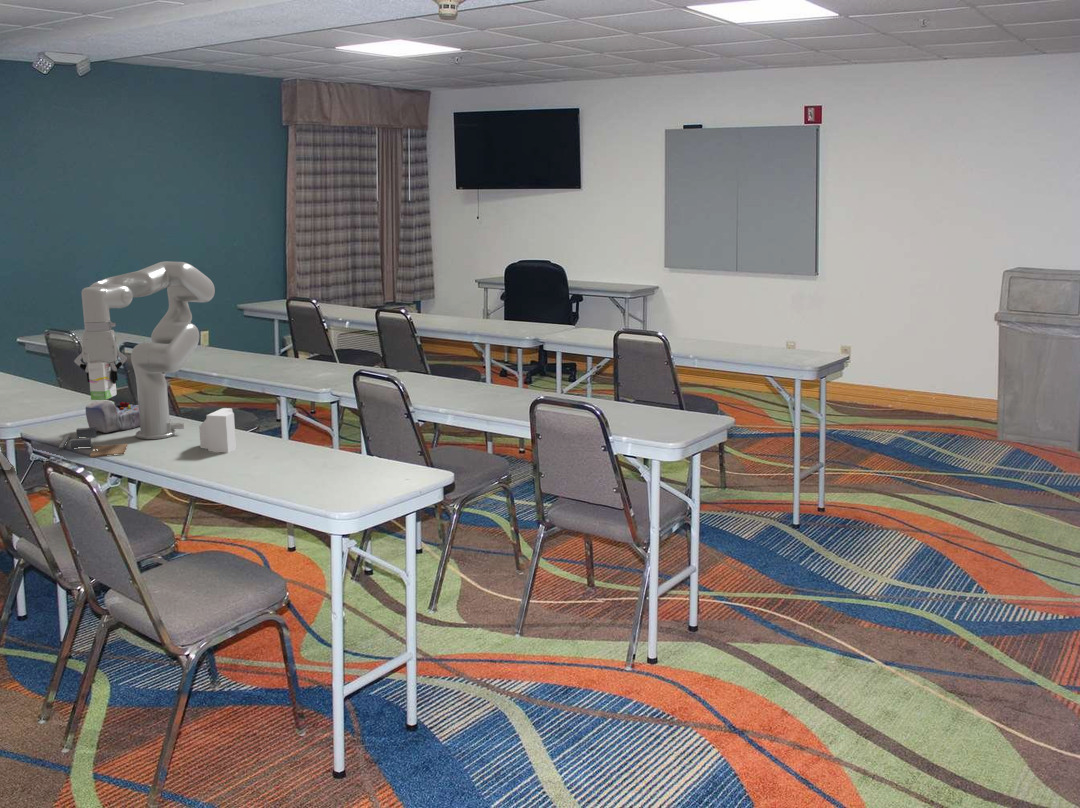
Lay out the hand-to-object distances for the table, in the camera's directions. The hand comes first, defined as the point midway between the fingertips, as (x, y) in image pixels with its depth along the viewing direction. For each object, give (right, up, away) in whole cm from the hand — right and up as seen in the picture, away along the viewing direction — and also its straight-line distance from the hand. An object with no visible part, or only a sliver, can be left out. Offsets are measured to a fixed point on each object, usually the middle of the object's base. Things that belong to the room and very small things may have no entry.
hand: (102, 383), depth 331 cm
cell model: (-9, -15, +35) cm, 39 cm away
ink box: (0, -5, +1) cm, 5 cm away
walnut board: (0, -22, +5) cm, 22 cm away
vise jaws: (-14, -19, +15) cm, 28 cm away
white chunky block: (+34, -21, +9) cm, 41 cm away
